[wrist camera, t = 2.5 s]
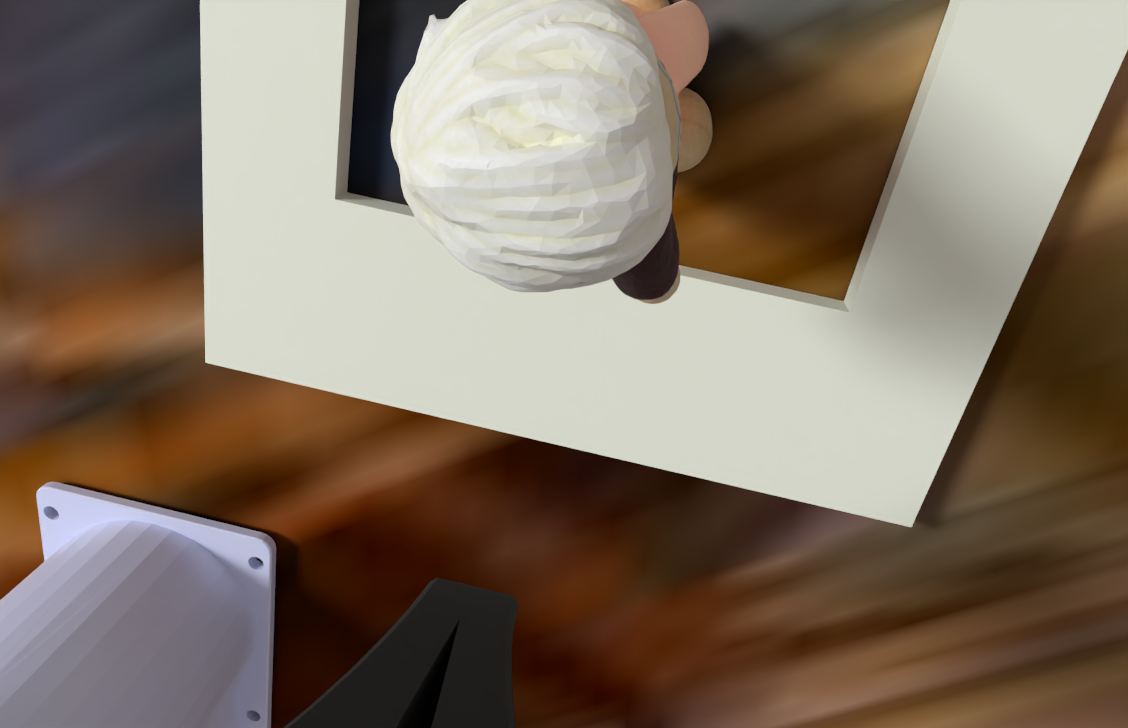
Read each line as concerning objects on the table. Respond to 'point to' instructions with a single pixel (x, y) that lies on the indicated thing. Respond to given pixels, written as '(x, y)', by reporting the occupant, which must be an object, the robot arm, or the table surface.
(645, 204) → the grandmother figurine
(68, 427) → the table surface
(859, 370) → the pale rectangular frame
